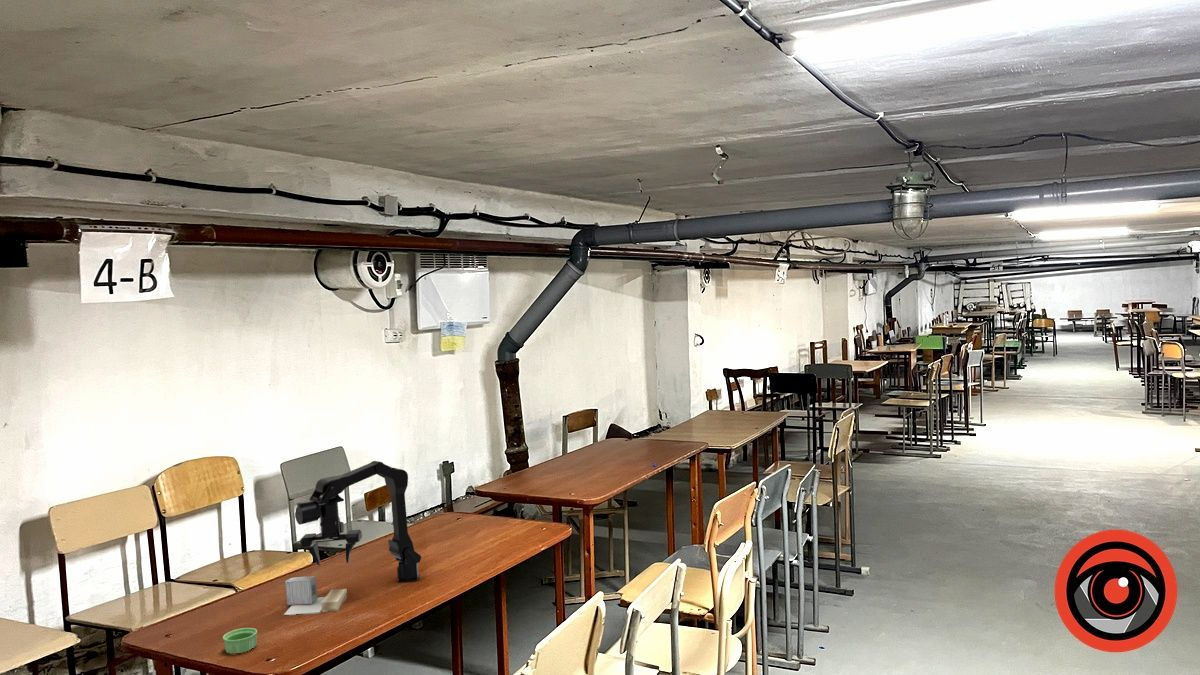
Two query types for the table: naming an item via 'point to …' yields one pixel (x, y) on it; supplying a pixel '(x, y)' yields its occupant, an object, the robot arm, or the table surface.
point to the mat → (306, 608)
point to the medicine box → (301, 590)
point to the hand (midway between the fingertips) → (333, 563)
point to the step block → (334, 600)
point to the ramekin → (240, 640)
